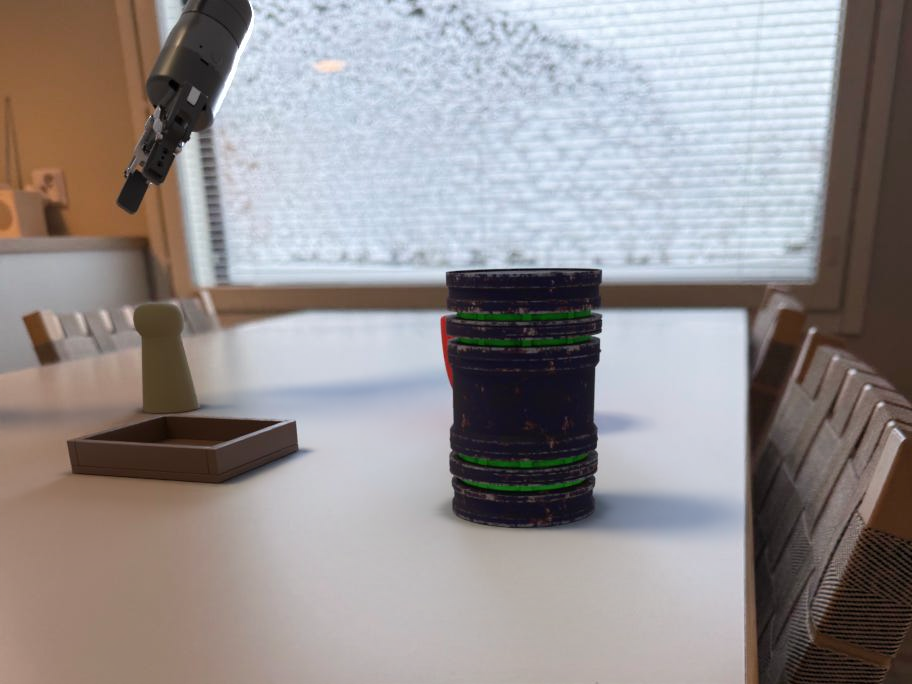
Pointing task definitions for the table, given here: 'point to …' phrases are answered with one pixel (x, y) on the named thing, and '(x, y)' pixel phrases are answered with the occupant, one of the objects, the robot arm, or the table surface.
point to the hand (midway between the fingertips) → (137, 194)
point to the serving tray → (184, 447)
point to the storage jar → (523, 394)
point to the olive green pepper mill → (164, 359)
